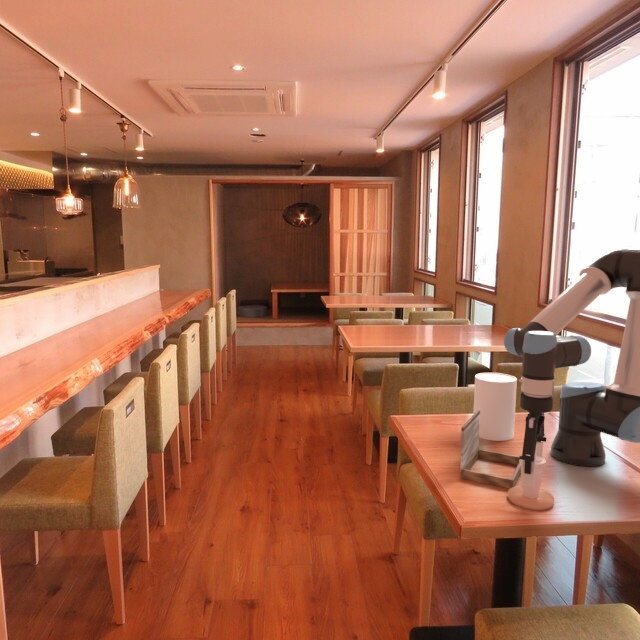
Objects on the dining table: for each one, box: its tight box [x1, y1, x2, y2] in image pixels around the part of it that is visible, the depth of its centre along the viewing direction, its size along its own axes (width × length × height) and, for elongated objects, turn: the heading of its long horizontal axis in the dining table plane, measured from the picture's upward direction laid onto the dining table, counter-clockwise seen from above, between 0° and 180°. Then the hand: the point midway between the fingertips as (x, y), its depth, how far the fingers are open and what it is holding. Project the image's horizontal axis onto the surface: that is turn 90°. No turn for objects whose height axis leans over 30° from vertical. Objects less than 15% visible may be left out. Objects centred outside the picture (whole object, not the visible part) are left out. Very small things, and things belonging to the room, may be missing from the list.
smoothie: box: [519, 444, 547, 499], centre depth 136 cm, size 6×6×14 cm
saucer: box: [507, 485, 555, 511], centre depth 137 cm, size 11×11×1 cm
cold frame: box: [459, 410, 521, 490], centre depth 154 cm, size 16×18×15 cm
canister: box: [472, 372, 518, 442], centre depth 184 cm, size 14×14×20 cm
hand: (531, 474), depth 136 cm, fingers open, 13 cm apart
